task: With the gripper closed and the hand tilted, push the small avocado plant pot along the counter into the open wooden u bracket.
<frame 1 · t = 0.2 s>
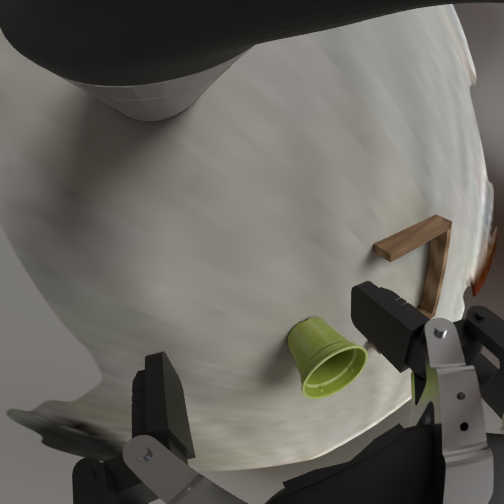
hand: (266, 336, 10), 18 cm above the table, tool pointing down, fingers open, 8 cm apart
plant pot: (305, 333, 38), on the table
wooden u bracket: (402, 283, 41), on the table
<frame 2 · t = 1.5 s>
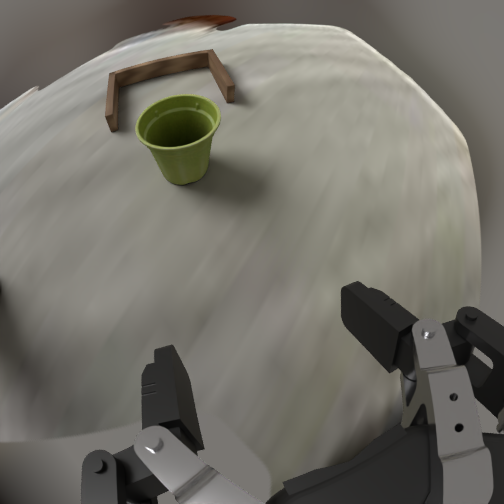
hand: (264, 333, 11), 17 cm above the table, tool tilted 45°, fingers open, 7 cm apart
plant pot: (185, 168, 34), on the table
wooden u bracket: (167, 92, 40), on the table
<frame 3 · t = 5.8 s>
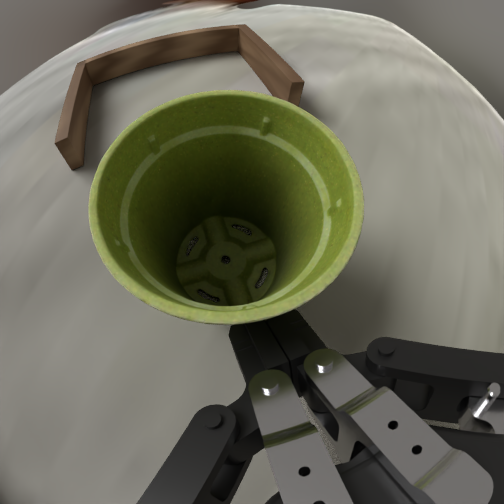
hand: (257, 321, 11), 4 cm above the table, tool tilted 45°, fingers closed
plant pot: (227, 264, 17), on the table, touching gripper
wooden u bracket: (172, 90, 23), on the table
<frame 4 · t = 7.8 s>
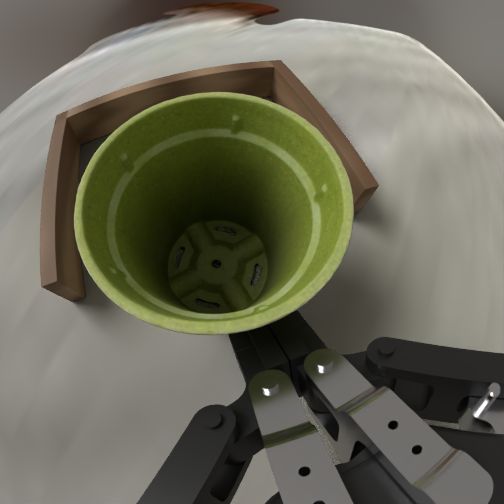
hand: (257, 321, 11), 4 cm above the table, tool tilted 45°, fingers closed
plant pot: (218, 268, 16), on the table, touching gripper
wooden u bracket: (190, 169, 19), on the table
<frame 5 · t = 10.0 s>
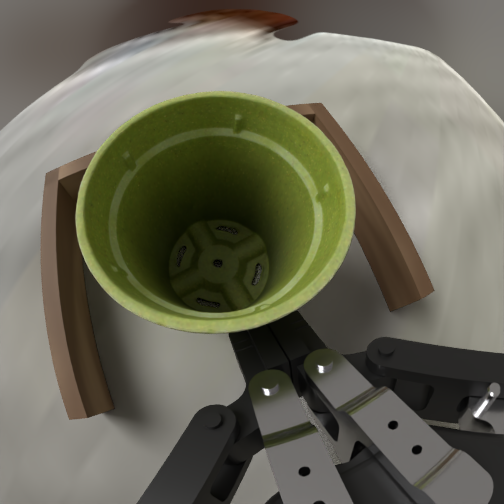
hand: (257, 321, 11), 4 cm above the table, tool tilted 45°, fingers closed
plant pot: (220, 267, 16), on the table, touching gripper
wooden u bracket: (220, 256, 16), on the table
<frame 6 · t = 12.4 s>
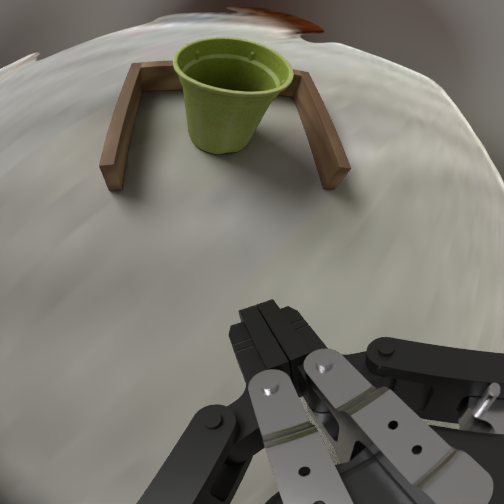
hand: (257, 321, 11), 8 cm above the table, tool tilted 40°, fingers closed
plant pot: (220, 134, 25), on the table
wooden u bracket: (222, 129, 25), on the table
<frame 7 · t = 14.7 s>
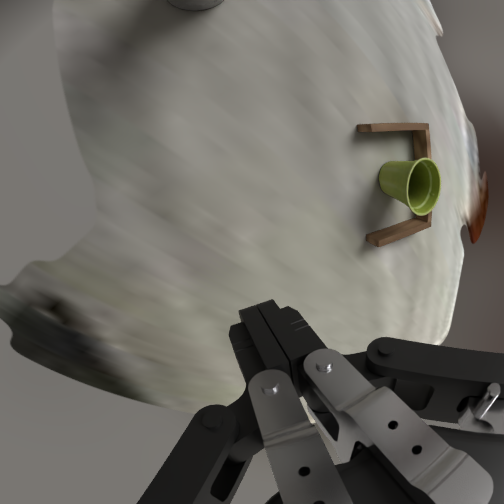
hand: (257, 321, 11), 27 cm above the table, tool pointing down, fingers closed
plant pot: (389, 178, 43), on the table
wooden u bracket: (392, 179, 43), on the table
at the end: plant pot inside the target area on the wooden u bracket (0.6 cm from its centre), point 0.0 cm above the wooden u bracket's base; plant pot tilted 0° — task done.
